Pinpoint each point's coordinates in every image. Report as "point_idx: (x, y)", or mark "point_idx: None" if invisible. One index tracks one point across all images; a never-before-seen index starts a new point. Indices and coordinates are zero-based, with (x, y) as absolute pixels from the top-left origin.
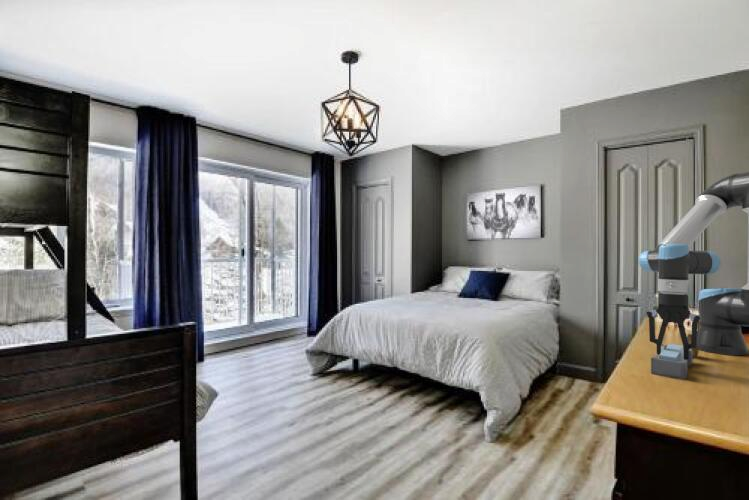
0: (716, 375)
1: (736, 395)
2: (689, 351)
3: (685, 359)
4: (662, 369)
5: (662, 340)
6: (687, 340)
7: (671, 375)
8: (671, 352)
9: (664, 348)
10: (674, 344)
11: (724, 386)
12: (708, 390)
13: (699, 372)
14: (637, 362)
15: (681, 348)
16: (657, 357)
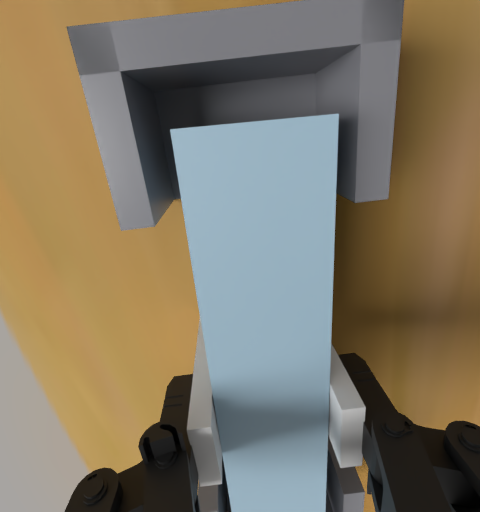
0: (448, 302)
1: None
2: (371, 200)
3: (296, 74)
4: None
5: (190, 490)
6: (440, 505)
7: None
8: (283, 488)
9: (216, 425)
10: (229, 125)
11: None
12: None
13: (377, 308)
14: (88, 353)
15: (347, 458)
16: (219, 506)
